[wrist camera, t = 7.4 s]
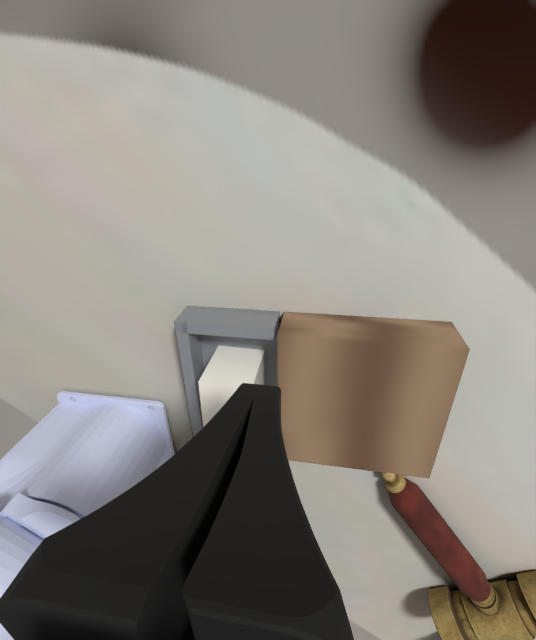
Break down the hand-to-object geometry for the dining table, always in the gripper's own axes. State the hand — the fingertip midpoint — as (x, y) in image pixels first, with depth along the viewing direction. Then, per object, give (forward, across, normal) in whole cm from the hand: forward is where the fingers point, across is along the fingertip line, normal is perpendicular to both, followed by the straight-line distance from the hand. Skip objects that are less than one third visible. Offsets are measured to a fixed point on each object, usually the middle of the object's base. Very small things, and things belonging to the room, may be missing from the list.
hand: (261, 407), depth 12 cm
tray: (+10, +4, +6) cm, 13 cm away
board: (+10, -4, +6) cm, 13 cm away
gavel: (+11, -14, +22) cm, 29 cm away
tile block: (+8, +2, +6) cm, 10 cm away
